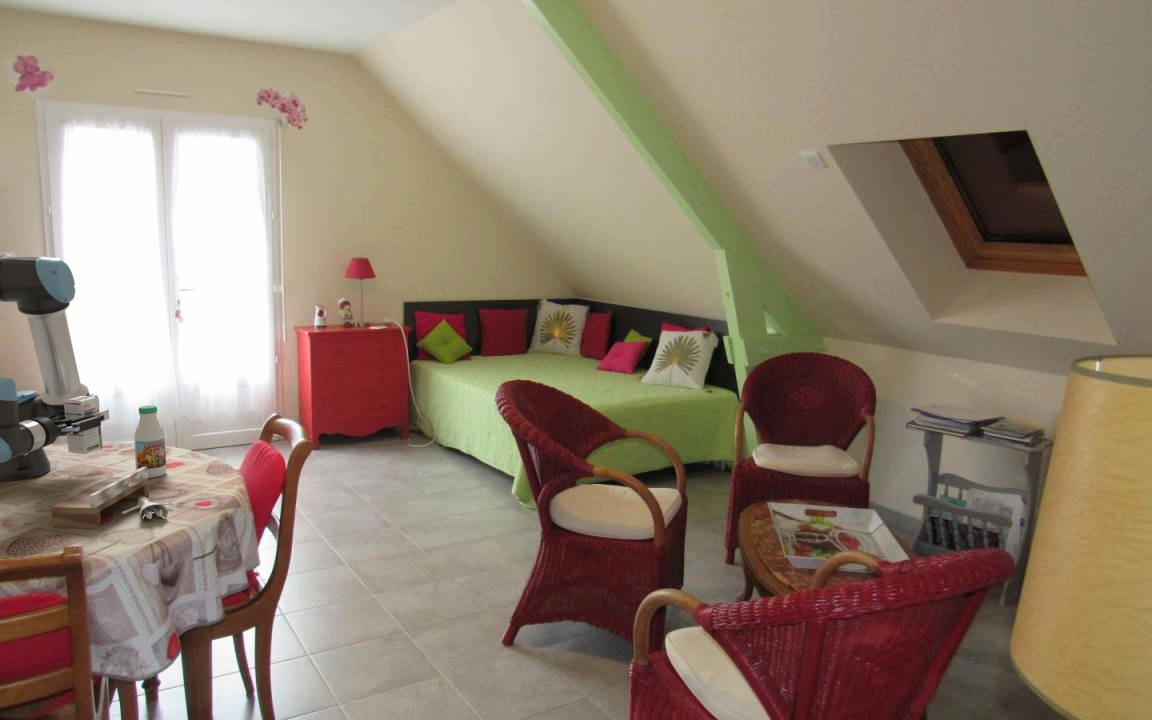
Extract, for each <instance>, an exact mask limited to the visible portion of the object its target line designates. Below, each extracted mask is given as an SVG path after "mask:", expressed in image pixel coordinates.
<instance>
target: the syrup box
mask: <svg viewBox="0 0 1152 720" xmlns="http://www.w3.org/2000/svg"><path fill="white" fill-rule="evenodd" d="M98 398H99V397H93V396H79V397H76V398H72V399H68V400H64V409H65V419H70V420H74V419H78V418H83V417H88V416H90V414H93V413H96V412H99V411H100V401H99V402H98ZM101 426H102V425H101ZM101 426H98V427H96V428H92V429H89V430H86V431H83V432H80V433H79V434H76V435H75V434H73V433H72V432H71V433H67V436H66V439H67V449H68V453H73V454H81V455H82V454H83V455H87V454H90V453H92V452H95V451H99V450H102V449H103V439H102V437H103V436H102V428H101Z"/></svg>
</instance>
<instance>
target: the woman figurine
mask: <svg viewBox="0 0 1152 720" xmlns="http://www.w3.org/2000/svg"><path fill="white" fill-rule="evenodd" d="M166 506H170V507H171V506H175V503H173V502H167V503H166V502H165V503H163V502H152V501H151V500H150V498H148V497H147V498H146V497H144V496H141V497H140V498H137V505H136V506H133V507H131V508H128V509H125V510H124V511H122V514H123V515H125V514H127V513H129V512H132V511H134V510H137V509H140V511H139V520H140V521H141V523H144V522H143V516H144V514H145V515H146V517H145V518H146V519H149V520H151V519H152V517H153V515H152V512H154V513H155V514H156V515H155V516H156V517H162V516H163V517H165V519H167V518H168V513H169V511H168V509H167V508H166ZM149 512H150V513H149Z"/></svg>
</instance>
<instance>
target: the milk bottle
mask: <svg viewBox="0 0 1152 720" xmlns="http://www.w3.org/2000/svg"><path fill="white" fill-rule="evenodd" d="M138 413H139V414H138V415H139V421H138V424H137V427H135V428H136V429H135V432H134V437H133V438H134V440H133V441H134V458H135V463H134V464H135V471H136V470H138V469H140V468H142V467H147V470H148V479H153V478H158V477H162V476H165V474H167V453H166V440H165V432H164V430H163V427H162V425H161V423H160V422H159V420H158V416H157V414H158V406H156V405H152V404H151V405H150V404H149V405H142V406H139V407H138Z"/></svg>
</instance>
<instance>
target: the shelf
mask: <svg viewBox="0 0 1152 720" xmlns="http://www.w3.org/2000/svg"><path fill="white" fill-rule="evenodd" d="M149 492H150V489H149V478H148V470H147V467H142V468H140V469H138V470H136V469H135V471H133V472H131V473H129V474H127V475H125V476H123V477H121V476H118V477H117V476H116V477H114V476H111V477H110V476H109V477H108V478H104V479H103V480H102V481H101V480H100V481H99V482H97V483H96V484H94V485H92V486H90V487H88V488H86V489H84V490H82V491H80V492H78V493H76V494H74V495H72V496H71V497H68V498H66V499H65V500H63V501H60V502H58V503H57V504H55V505H53V506H51V520H52V523H51V524H52V528H53V529H55V528H56V529H97V528H96V527H98V526H99V527H101V526H100V525H102V523H101V511H103V510H104V509H106V508H108V507H109V506H111V505H114V504H115V503H117V502H118V501H120V500H122V499H139V498H140V497H141V496H144V497H146V498H147V499H148V498H149V497H150V493H149ZM148 496H149V497H148ZM99 527H98V528H99Z"/></svg>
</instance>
